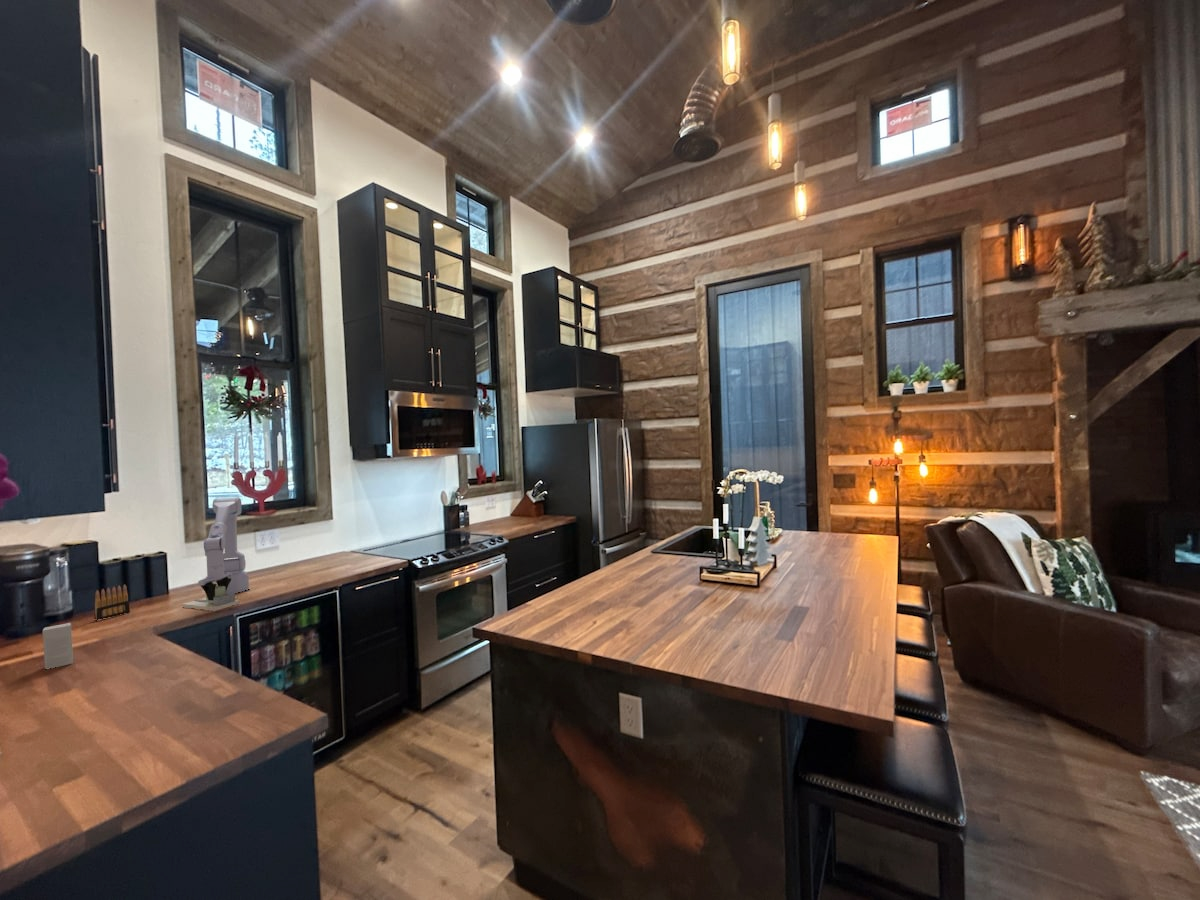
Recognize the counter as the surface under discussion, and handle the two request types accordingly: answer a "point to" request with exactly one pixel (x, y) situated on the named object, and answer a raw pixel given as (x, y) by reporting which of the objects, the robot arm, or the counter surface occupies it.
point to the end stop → (224, 599)
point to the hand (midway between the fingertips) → (216, 598)
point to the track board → (207, 605)
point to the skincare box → (57, 645)
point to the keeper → (217, 593)
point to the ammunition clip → (111, 603)
